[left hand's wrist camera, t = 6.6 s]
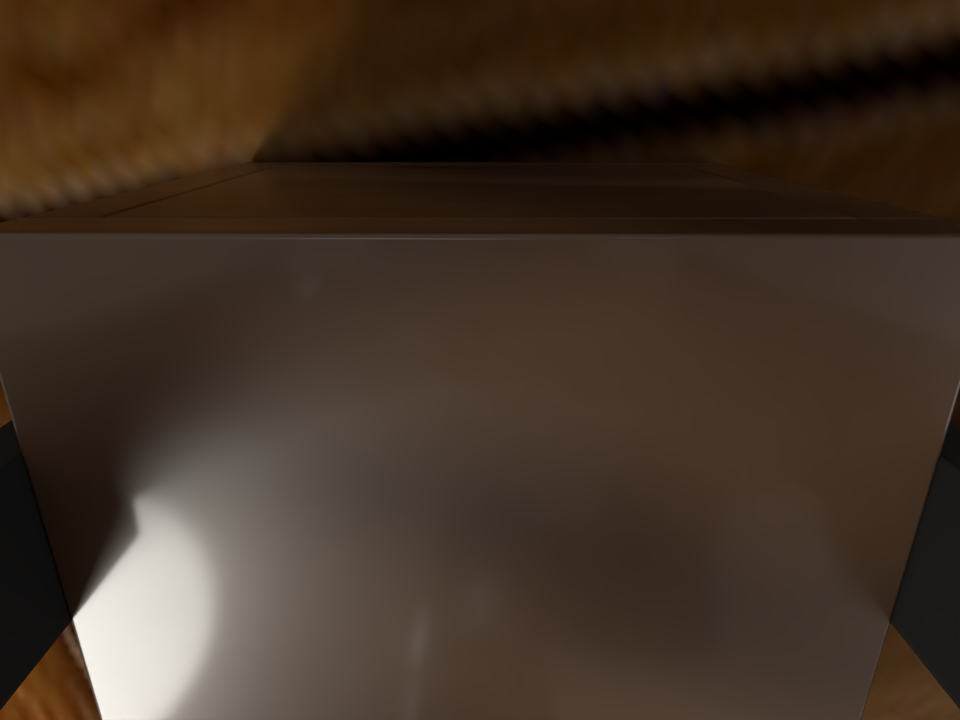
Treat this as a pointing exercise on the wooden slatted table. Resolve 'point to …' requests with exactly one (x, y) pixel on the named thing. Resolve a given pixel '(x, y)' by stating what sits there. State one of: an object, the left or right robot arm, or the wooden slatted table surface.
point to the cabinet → (480, 437)
